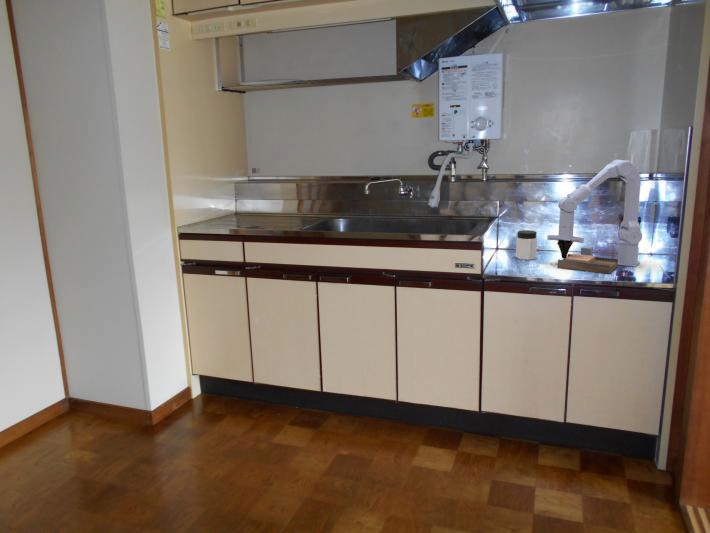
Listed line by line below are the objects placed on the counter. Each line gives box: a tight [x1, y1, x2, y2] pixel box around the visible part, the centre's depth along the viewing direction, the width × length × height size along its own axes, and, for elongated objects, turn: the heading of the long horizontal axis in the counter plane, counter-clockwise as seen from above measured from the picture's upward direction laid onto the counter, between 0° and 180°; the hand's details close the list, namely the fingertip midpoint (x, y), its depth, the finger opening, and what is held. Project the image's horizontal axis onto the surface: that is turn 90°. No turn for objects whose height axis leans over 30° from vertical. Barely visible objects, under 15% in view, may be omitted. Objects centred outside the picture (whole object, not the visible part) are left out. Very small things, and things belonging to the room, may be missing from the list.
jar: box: [515, 229, 538, 261], centre depth 248 cm, size 9×8×12 cm
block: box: [580, 245, 594, 256], centre depth 240 cm, size 4×4×6 cm
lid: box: [565, 253, 596, 263], centre depth 229 cm, size 11×9×2 cm
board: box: [557, 253, 619, 275], centre depth 228 cm, size 14×20×4 cm
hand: (564, 258), depth 233 cm, fingers closed
